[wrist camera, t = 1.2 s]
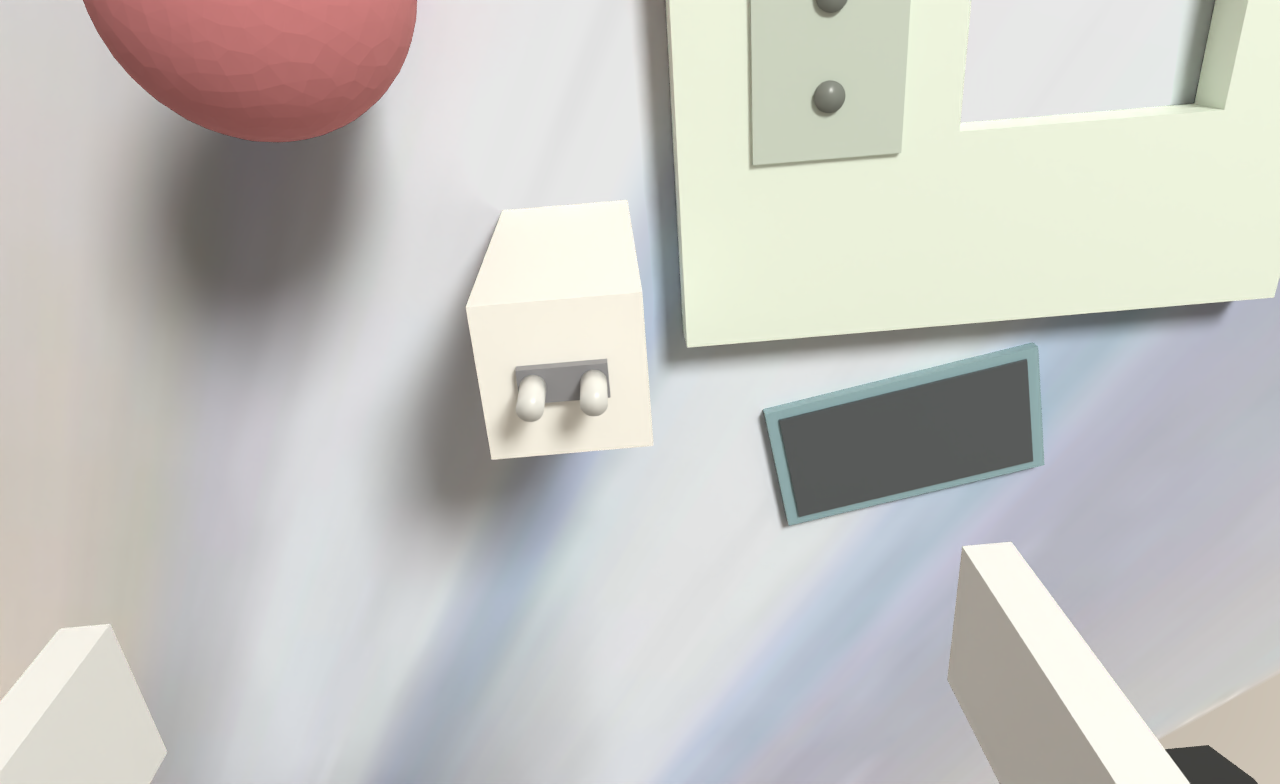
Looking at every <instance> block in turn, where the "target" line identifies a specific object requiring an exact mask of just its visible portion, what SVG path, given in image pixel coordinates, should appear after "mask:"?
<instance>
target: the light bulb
mask: <svg viewBox="0 0 1280 784" xmlns="http://www.w3.org/2000/svg"><path fill="white" fill-rule="evenodd" d="M83 1H84V4H85V7H86V9H87V12H88V14H89V16H90V18H91V20H92V22H93V24H94V26H95V28H96V30H97V32H98V34H99V35H100V37H101V38H102V40H103V41H104V43H105V44H106V46H107V47H108V49H109V50H110V52H111V53H112V55H113V56H114V58H115V59H116V60H117V61H118V62H119V64H120V65H121V66H122V67H123V68H124V69H125V71H126V72H127V73H128V74H129V75H130V76H131V77H132V78H133V79H134V80H135V81H136V82H137V83H138V84H139V85H140V86H141V87H142V88H143V89H144V90H146V91H147V92H148V93H149V94H150V95H152V96H153V97H154V98H155V99H156V100H158V101H159V102H160V103H162V104H163V105H165V106H167V107H168V108H170V109H171V110H173V111H174V112H176V113H177V114H179V115H180V116H182V117H184V118H185V119H187V120H189V121H191V122H193V123H196V124H198V125H200V126H202V127H204V128H207V129H209V130H212V131H215V132H218V133H221V134H225V135H228V136H232V137H236V138H240V139H245V140H250V141H261V142H290V141H298V140H304V139H309V138H313V137H317V136H321V135H325V134H327V133H329V132H332V131H334V130H336V129H339V128H341V127H343V126H345V125H347V124H349V123H350V122H352V121H354V120H355V119H357V118H358V117H359V116H361V115H362V114H363V113H365V112H366V111H367V110H368V109H369V108H370V107H372V106H373V105H374V104H375V103H376V102H377V101H378V100H379V99H380V98H381V97H382V96H383V95H384V94H385V92H386V91H387V90H388V88H389V87H390V85H391V84H392V82H393V81H394V79H395V78H396V76H397V75H398V73H399V72H400V70H401V68H402V65H403V63H404V61H405V58H406V56H407V54H408V51H409V47H410V44H411V41H412V36H413V32H414V27H415V22H416V12H417V0H83Z"/></svg>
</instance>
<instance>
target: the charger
mask: <svg viewBox="0 0 1280 784" xmlns="http://www.w3.org/2000/svg"><path fill="white" fill-rule="evenodd" d="M466 313H467V318H468V324H469V330H470V336H471V342H472V348H473V354H474V359H475V365H476V371H477V377H478V383H479V389H480V395H481V400H482V406H483V412H484V418H485V424H486V430H487V436H488V441H489V447H490V453H491V459H492V460H495V459H507V458H518V457H530V456H541V455H553V454H564V453H575V452H587V451H598V450H610V449H621V448H633V447H644V446H653V433H652V419H651V406H650V392H649V379H648V365H647V352H646V338H645V325H644V311H643V297H642V288H641V282H640V276H639V270H638V263H637V257H636V251H635V245H634V238H633V232H632V226H631V220H630V213H629V207H628V201H627V200H620V201H608V202H596V203H584V204H572V205H560V206H548V207H536V208H524V209H512V210H502V213H501V215H500V218H499V220H498V223H497V226H496V228H495V231H494V234H493V236H492V239H491V242H490V244H489V247H488V249H487V252H486V255H485V257H484V260H483V263H482V265H481V268H480V271H479V273H478V276H477V279H476V281H475V284H474V286H473V289H472V292H471V294H470V297H469V300H468V302H467V305H466Z"/></svg>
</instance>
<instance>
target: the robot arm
mask: <svg viewBox="0 0 1280 784" xmlns="http://www.w3.org/2000/svg"><path fill="white" fill-rule="evenodd" d="M947 680H948V682H949V684H950V686H951V688H952V690H953V692H954V694H955V696H956V698H957V700H958V702H959V704H960V706H961V708H962V710H963V712H964V714H965V716H966V718H967V720H968V722H969V724H970V726H971V728H972V730H973V732H974V734H975V736H976V738H977V740H978V742H979V744H980V746H981V748H982V750H983V752H984V754H985V756H986V758H987V760H988V761H989V763H990V765H991V767H992V769H993V771H994V773H995V775H996V777H997V779H998V781H999V783H1000V784H1258V783H1257V782H1256V781H1255V780H1254V779H1253V778H1252V777H1251V776H1249V775H1248V774H1246V773H1245V772H1244V771H1242V770H1241V769H1240V768H1238V767H1237V766H1236V765H1234V764H1233V763H1232V762H1230V761H1229V760H1227V759H1226V758H1225V757H1223V756H1222V755H1221V754H1219V753H1218V752H1217V751H1215V750H1214V749H1213V748H1211V747H1210V746H1209V745H1206V746H1196V747H1186V748H1174V749H1164V748H1163V747H1162V745H1161V744H1160V742H1159V741H1158V740H1157V738H1156V737H1155V735H1154V734H1153V733H1152V731H1151V730H1150V729H1149V727H1148V726H1147V725H1146V723H1145V722H1144V721H1143V719H1142V718H1141V717H1140V715H1139V714H1138V713H1137V711H1136V710H1135V708H1134V707H1133V706H1132V704H1131V703H1130V702H1129V700H1128V699H1127V698H1126V696H1125V695H1124V694H1123V692H1122V691H1121V690H1120V688H1119V687H1118V685H1117V684H1116V683H1115V681H1114V680H1113V679H1112V677H1111V676H1110V675H1109V673H1108V672H1107V671H1106V669H1105V668H1104V667H1103V665H1102V664H1101V662H1100V661H1099V660H1098V658H1097V657H1096V656H1095V654H1094V653H1093V652H1092V650H1091V649H1090V648H1089V646H1088V645H1087V644H1086V642H1085V641H1084V640H1083V638H1082V637H1081V635H1080V634H1079V633H1078V631H1077V630H1076V629H1075V627H1074V626H1073V625H1072V623H1071V622H1070V621H1069V619H1068V618H1067V617H1066V615H1065V614H1064V612H1063V611H1062V610H1061V608H1060V607H1059V606H1058V604H1057V603H1056V602H1055V600H1054V599H1053V598H1052V596H1051V595H1050V594H1049V592H1048V591H1047V589H1046V588H1045V587H1044V585H1043V584H1042V583H1041V581H1040V580H1039V579H1038V577H1037V576H1036V575H1035V573H1034V572H1033V571H1032V569H1031V568H1030V567H1029V565H1028V564H1027V562H1026V561H1025V560H1024V558H1023V557H1022V556H1021V554H1020V553H1019V552H1018V550H1017V549H1016V548H1015V546H1014V545H1013V544H1012V542H1004V543H993V544H982V545H971V546H962V553H961V562H960V571H959V579H958V588H957V597H956V606H955V615H954V624H953V633H952V642H951V651H950V660H949V669H948V678H947ZM166 754H167V750H166V748H165V746H164V744H163V741H162V739H161V737H160V735H159V732H158V730H157V728H156V726H155V723H154V721H153V719H152V717H151V714H150V712H149V710H148V708H147V705H146V703H145V701H144V699H143V696H142V694H141V692H140V690H139V687H138V685H137V683H136V681H135V678H134V676H133V674H132V672H131V669H130V667H129V665H128V663H127V660H126V658H125V656H124V654H123V651H122V649H121V647H120V645H119V642H118V640H117V638H116V636H115V633H114V631H113V629H112V627H111V624H104V625H93V626H82V627H71V628H60V629H59V630H58V631H57V633H56V634H55V635H54V636H53V638H52V639H51V640H50V641H49V643H48V644H47V645H46V646H45V647H44V649H43V650H42V651H41V652H40V654H39V655H38V656H37V657H36V658H35V660H34V661H33V662H32V663H31V665H30V666H29V667H28V668H27V669H26V671H25V672H24V673H23V674H22V676H21V677H20V678H19V679H18V681H17V682H16V683H15V684H14V685H13V687H12V688H11V689H10V690H9V692H8V693H7V694H6V695H5V696H4V698H3V699H2V700H1V701H0V784H150V783H151V781H152V779H153V777H154V776H155V774H156V772H157V770H158V768H159V767H160V765H161V763H162V761H163V759H164V757H165V756H166Z"/></svg>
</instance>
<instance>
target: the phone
mask: <svg viewBox="0 0 1280 784" xmlns="http://www.w3.org/2000/svg"><path fill="white" fill-rule="evenodd" d="M763 411H764V416H765V421H766V425H767V430H768V435H769V439H770V444H771V449H772V453H773V458H774V462H775V467H776V472H777V476H778V481H779V486H780V490H781V495H782V500H783V504H784V509H785V514H786V518H787V522H788V524H789V526H790V525H794V524H798V523H802V522H807V521H811V520H815V519H819V518H823V517H828V516H832V515H836V514H840V513H844V512H849V511H853V510H857V509H861V508H865V507H870V506H874V505H878V504H882V503H886V502H891V501H895V500H899V499H903V498H908V497H912V496H916V495H920V494H924V493H929V492H933V491H937V490H941V489H945V488H950V487H954V486H958V485H962V484H966V483H971V482H975V481H979V480H983V479H987V478H992V477H996V476H1000V475H1004V474H1008V473H1013V472H1017V471H1021V470H1025V469H1029V468H1034V467H1038V466H1042V465H1044V449H1043V430H1042V411H1041V392H1040V373H1039V354H1038V346H1037V345H1035V344H1034V343H1029V344H1025V345H1021V346H1017V347H1013V348H1009V349H1005V350H1000V351H996V352H992V353H988V354H984V355H980V356H976V357H972V358H968V359H964V360H960V361H956V362H952V363H948V364H944V365H940V366H936V367H932V368H928V369H924V370H920V371H916V372H912V373H908V374H904V375H900V376H896V377H892V378H888V379H884V380H880V381H876V382H872V383H868V384H864V385H859V386H855V387H851V388H847V389H843V390H839V391H835V392H831V393H827V394H823V395H819V396H815V397H811V398H807V399H803V400H799V401H795V402H791V403H787V404H783V405H779V406H775V407H771V408H767V409H763Z"/></svg>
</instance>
